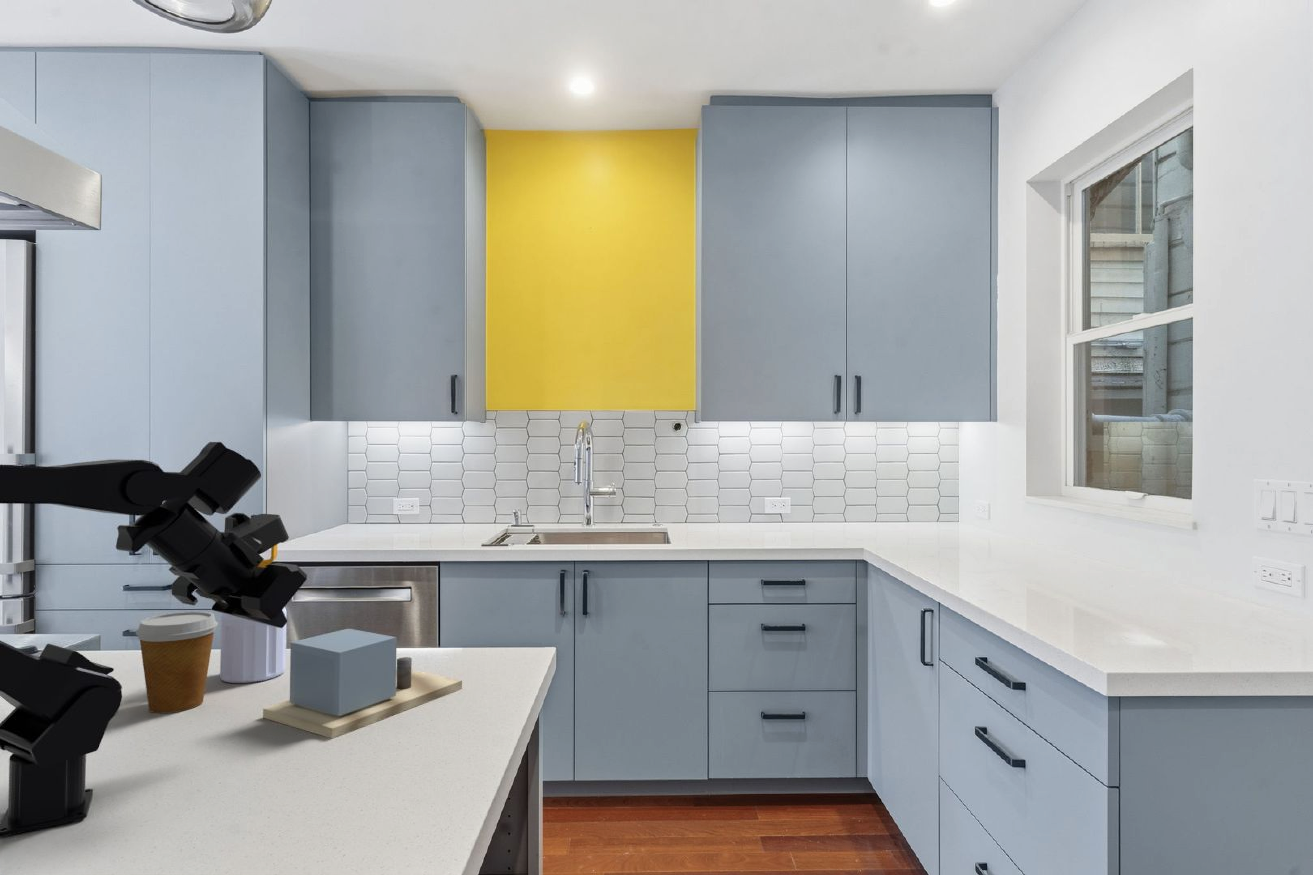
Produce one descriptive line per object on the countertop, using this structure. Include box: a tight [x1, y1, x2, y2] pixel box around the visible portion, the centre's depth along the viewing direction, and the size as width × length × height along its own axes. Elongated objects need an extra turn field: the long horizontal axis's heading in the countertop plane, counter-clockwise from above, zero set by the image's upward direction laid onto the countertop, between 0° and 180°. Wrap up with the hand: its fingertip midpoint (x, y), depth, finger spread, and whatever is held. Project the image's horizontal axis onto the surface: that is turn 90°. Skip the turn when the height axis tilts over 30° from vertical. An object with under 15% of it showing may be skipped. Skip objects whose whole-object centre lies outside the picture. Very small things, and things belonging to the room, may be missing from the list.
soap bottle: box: [219, 544, 288, 684], centre depth 115 cm, size 9×9×25 cm
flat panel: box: [262, 656, 463, 739], centre depth 103 cm, size 22×14×5 cm, turn 151°
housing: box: [289, 628, 398, 716], centre depth 99 cm, size 9×10×8 cm
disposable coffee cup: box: [135, 611, 219, 714], centre depth 101 cm, size 10×10×12 cm
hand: (283, 624), depth 91 cm, fingers closed
